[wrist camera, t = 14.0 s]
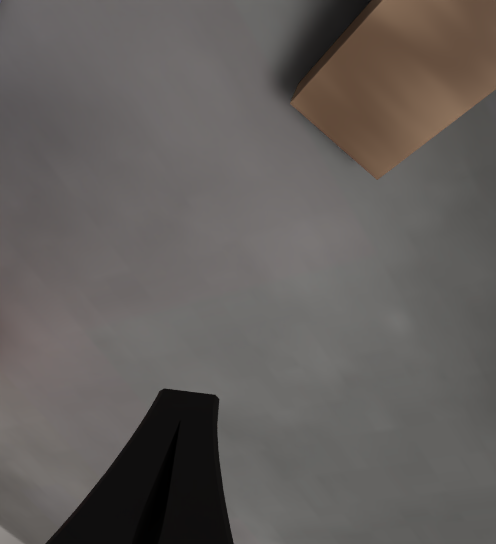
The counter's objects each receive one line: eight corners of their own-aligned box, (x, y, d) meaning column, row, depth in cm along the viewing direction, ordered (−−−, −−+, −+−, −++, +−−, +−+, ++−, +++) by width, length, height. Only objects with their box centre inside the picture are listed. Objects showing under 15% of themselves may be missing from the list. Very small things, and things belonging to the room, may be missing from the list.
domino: (290, 103, 14) (497, -129, 10) (298, 83, 15) (490, -135, 11) (377, 180, 16) (601, 7, 11) (380, 157, 17) (587, -11, 12)
